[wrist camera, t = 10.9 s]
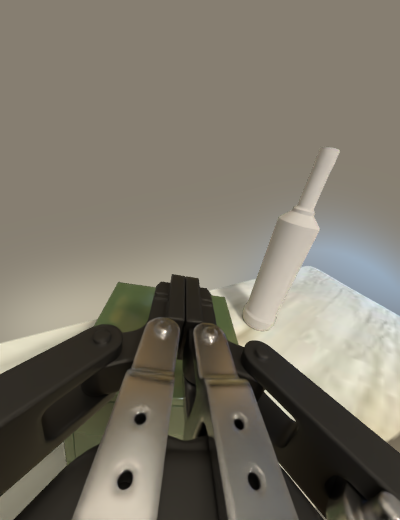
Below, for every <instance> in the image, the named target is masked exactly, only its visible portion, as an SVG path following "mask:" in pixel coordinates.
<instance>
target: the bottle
mask: <svg viewBox="0 0 400 520" xmlns="http://www.w3.org/2000/svg"><path fill="white" fill-rule="evenodd" d="M339 152H340V150H338V149H335V148H329V147H321V148H320V150H319V152H318V155H317V157H316V160H315V162H314V165H313V168H312V171H311V173H310V176H309V178H308V180H307V183H306V185H305V188H304V190H303V193H302V195H301V197H300V200H299V202H298V205H297V206H295V207H293V209H292V210H291V211H289V212H287V213H286V214H283V215H281V216H280V217H278V220H277V223H276V226H275V229H274V231H273V234H272V237H271V239H270V242H269V245H268V248H267V251H266V254H265V256H264V259H263V262H262V265H261V267H260V270H259V273H258V276H257V278H256V281H255V284H254V287H253V290H252V292H251V295H250V298H249V301H248V303H246V305H245V306H244V309H243V319H244V321H245V322H246V324H248V325H249V326H250V327H252V328H254V329H256V330H259V331H268V330H269V329H271V328H272V327H273V325H274V324H275V322H276V319H277V317H276V315H277V313H278V311H279V309H280V307H281V305H282V303H283V301H284V299H285V297H286V295H287V293H288V291H289V289H290V287H291V285H292V283H293V281H294V280H295V278H296V276H297V274H298V272H299V270H300V268H301V266H302V264H303V262H304V260H305V258H306V256H307V254H308V252H309V250H310V248H311V245H312V244H313V242H314V240H315V238H316V236H317V234H318V232H319V230H320V228H319V226H318V224H317V222H316V220H315V218H314V215H315V212H314V207H315V205H316V202H317V200H318V198H319V196H320V194H321V191H322V189H323V187H324V185H325V182H326V180H327V178H328V175H329V173H330V171H331V169H332V168H333V166H334V163H335V161H336V159H337V157H338V154H339Z"/></svg>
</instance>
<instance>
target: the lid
mask: <svg viewBox="0 0 400 520" xmlns="http://www.w3.org/2000/svg"><path fill="white" fill-rule="evenodd" d="M155 289H156V287H149V286H142V285H135V284H127V283H121V282H118V283H117V285H116V287H115V289H114V291H113V293H112V294H111V296H110V298H109V300H108V302H107V303H106V305H105V307H104V309H103V311H102V313H101V314H100V316H99V318H98V320H97V322H96V323H95V325H94V326H96V325H100V324H110V325H114V326H116V327H118V328H119V329H120V330H121V331H122V332H129V331H134V330H137V329H139V328H141V327H143V326H144V325H145V324H146V323H147V321H148V318H149V314H150V310H151V306H152V301H153V297H154V293H155ZM211 297H212V302H213V307H214V313H215V318H216V323H217V326H218V327H219V328H221V329H222V330H223V332H224V333H225V335H226V338H227V340H228V341H230V342H232V343H234V344H237V345H238V341H237V338H236V334H235V331H234V328H233V324H232V321H231V317H230V314H229V310H228V307H227V303H226V300H225V297H219V296H212V295H211ZM182 372H183V371H182V360H177V357H176V365H175V372H174V376H175V383H174V391H173V398H172V405H180V406H183V393H182ZM118 393H119V391H118V392H117V393H116V395H115V396H114V397H113V398H112V399H111V400H110V401H112V402H115V401H116V398H117V396H118Z"/></svg>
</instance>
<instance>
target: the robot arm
mask: <svg viewBox="0 0 400 520" xmlns="http://www.w3.org/2000/svg"><path fill="white" fill-rule="evenodd" d="M176 357H177V360H182V371H183V372H182V393H183V410H184V434H183V440H181V439H178V438H175V437H173V436H170V435H168V430H169V422H170V414H171V406H172V398H173V391H174V383H175V376H174V372H175V365H176ZM264 390H267V391H268V392H269V393H270V394H271V395H272V396H273V397H274V398H275V399H276V400H277V401H278V402H279V403H280V404H281V405H282V406H283V407H284V408H285V409H286V410H287V411H288V412H289V413H290V414H291V415H292V416H293V417H294V419H295V420H296V422H295V421H293V420H292V419H290V418H289V417H288V416H287V415H286V414H285V413H284V412H283V411H282V410H281V409H280V408H279V407H278V406H277V405H276V404H275V403H274V402H273V401H272V400H271V399H270V398H269V397H268V396H267V395H266V394H265V393H264ZM118 391H119V393H118V396H117V398H116V401H115V404H114V406H113V409H112V412H111V415H110V417H109V420H108V423H107V425H106V428H105V431H104V434H103V436H102V439H101V442H100V444H98V445H96V446H94V447H92V448H90V449H88V450H87V451H85V452H84V453H82V454H81V455H80V456H78V457H77V458H75V459H74V460H73V461H72V462H71V463H70V464H68V465H67V466H66V467H65V468H64V469H63V470H62V471H61V472H60V473H59V474H58V475H57V476H56V477H55V478H54V479H53V480H52V481H51V482H50V483H49V484H48V485H47V486H46V487H45V488H44V489H43V490H42V491H41V492H40V493H39V494H38V495H37V496H36V497H35V498H34V499H33V500H32V501H31V502H30V503H29V504H28V505H27V506H26V507H25V508H24V510H23V511H22V512H21V513H20V514H19V515H18V516H17V517H16V518H15V519H14V520H324V519H323V518H322V517H321V516H320V514H319V513H318V512H317V511H316V509H315V508H314V507H313V506H312V504H311V503H310V502H309V501H308V499H307V498H306V497H305V496H304V494H303V493H302V492H301V491H300V489H299V488H298V487H297V486H296V484H297V485H298V486H299V487H300V488H301V490H302V491H303V492H304V493H305V494H306V496H307V497H308V498H309V499H310V500H311V501H312V503H313V504H314V505H315V506H316V507H317V509H318V510H319V511H320V512H321V513H322V515H323V516H324V517H325V518H326V519H327V520H400V453H399V452H398V451H396V450H395V449H394V448H393V447H391V446H390V445H389V444H388V443H387V442H385V441H384V440H383V439H382V438H381V437H379V436H378V435H377V434H376V433H374V432H373V431H372V430H371V429H370V428H368V427H367V426H366V425H365V424H363V423H362V422H361V421H360V420H359V419H357V418H356V417H355V416H354V415H353V414H351V413H350V412H349V411H348V410H346V409H345V408H344V407H343V406H342V405H340V404H339V403H338V402H337V401H335V400H334V399H333V398H332V397H331V396H329V395H328V394H327V393H326V392H324V391H323V390H322V389H321V388H320V387H318V386H317V385H316V384H315V383H314V382H312V381H311V380H310V379H309V378H307V377H306V376H305V375H304V374H303V373H301V372H300V371H299V370H298V369H296V368H295V367H294V366H293V365H292V364H290V363H289V362H288V361H287V360H286V359H284V358H283V357H282V356H281V355H279V354H278V353H277V352H276V351H275V350H273V349H272V348H271V347H270V346H268V345H267V344H265V343H263V342H260V341H249V342H248V343H246V345H245V347H242V346H240V345H237V344H234V343H232V342H230V341H228V340H227V338H226V335H225V333H224V332H223V330H222V329H221V328H219V327H218V326H217V323H216V318H215V313H214V307H213V302H212V297H211V294H210V292H209V291H208V290H207V288H200V286H199V279H198V278H193V277H185V276H180V275H174V274H172V277H171V283H166V282H160V283H159V284H158V285H157V286H156V289H155V293H154V297H153V301H152V306H151V310H150V314H149V318H148V321H147V323H146V324H145V325H144V326H143V327H141V328H139V329H137V330H134V331H129V332H122V331H121V330H120V329H119V328H118V327H116V326H114V325H110V324H100V325H96V326H93V327H91V328H89V329H87V330H85V331H83V332H81V333H79V334H77V335H76V336H74V337H72V338H70V339H68V340H66V341H64V342H62V343H60V344H58V345H56V346H54V347H52V348H50V349H48V350H46V351H45V352H43V353H41V354H39V355H37V356H35V357H33V358H31V359H29V360H27V361H25V362H23V363H21V364H19V365H17V366H15V367H14V368H12V369H10V370H8V371H6V372H4V373H2V374H0V496H1V495H3V494H4V493H5V492H6V491H7V490H8V489H9V488H11V487H12V486H13V485H14V484H15V483H16V482H17V481H19V480H20V479H21V478H22V477H23V476H24V475H25V474H27V473H28V472H29V471H30V470H31V469H32V468H33V467H35V466H36V465H37V464H38V463H39V462H40V461H41V460H43V459H44V458H45V457H46V456H47V455H48V454H49V453H51V452H52V451H53V450H54V449H55V448H56V447H58V446H59V445H60V444H61V443H62V442H63V441H64V440H66V439H67V438H68V437H69V436H70V435H71V434H72V433H74V432H75V431H76V430H77V429H78V428H79V427H80V426H82V425H83V424H84V423H85V422H86V421H87V420H88V419H90V418H91V417H92V416H93V415H94V414H95V413H96V412H98V411H99V410H100V409H101V408H102V407H103V406H104V405H106V404H107V403H108V402H109V401H110V400H111V399H112V398H113V397H114V396H115V395H116V393H117V392H118ZM278 462H279V463H280V465H281V466H282V467H283V468H284V469H285V471H286V472H287V473H288V474H289V475H290V476H291V478H292V479H293V480H294V481H295V482H296V484H295V483H294V482H293V481H292V479H291V478H290V477H289V476H288V474H287V473H286V472H285V471H284V470H283V469H282V468H281V467H280V465H279V463H278Z"/></svg>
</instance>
